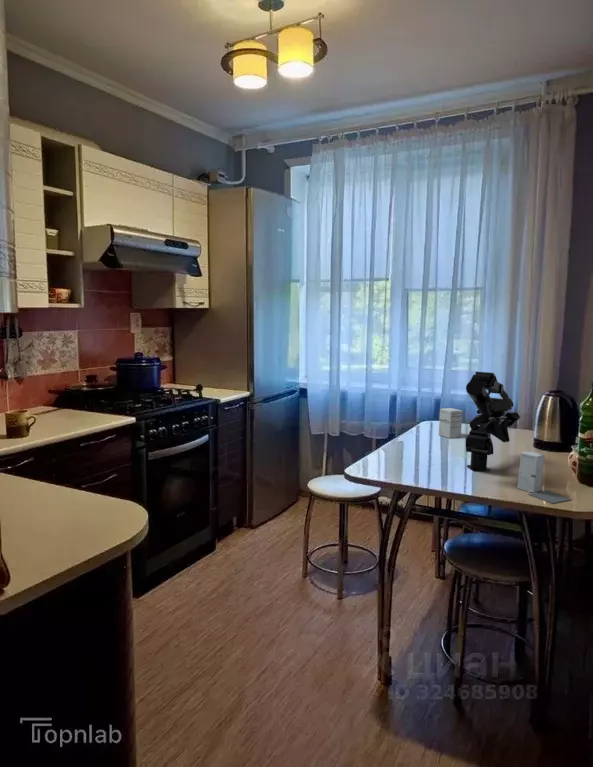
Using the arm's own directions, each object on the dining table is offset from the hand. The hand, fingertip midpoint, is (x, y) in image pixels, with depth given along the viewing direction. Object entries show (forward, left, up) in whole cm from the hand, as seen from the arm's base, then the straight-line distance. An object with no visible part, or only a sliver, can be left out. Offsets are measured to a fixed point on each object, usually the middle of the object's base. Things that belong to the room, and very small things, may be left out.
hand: (506, 441), depth 189 cm
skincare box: (+10, +4, -14) cm, 17 cm away
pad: (+18, +6, -14) cm, 23 cm away
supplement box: (-67, +7, -14) cm, 69 cm away
